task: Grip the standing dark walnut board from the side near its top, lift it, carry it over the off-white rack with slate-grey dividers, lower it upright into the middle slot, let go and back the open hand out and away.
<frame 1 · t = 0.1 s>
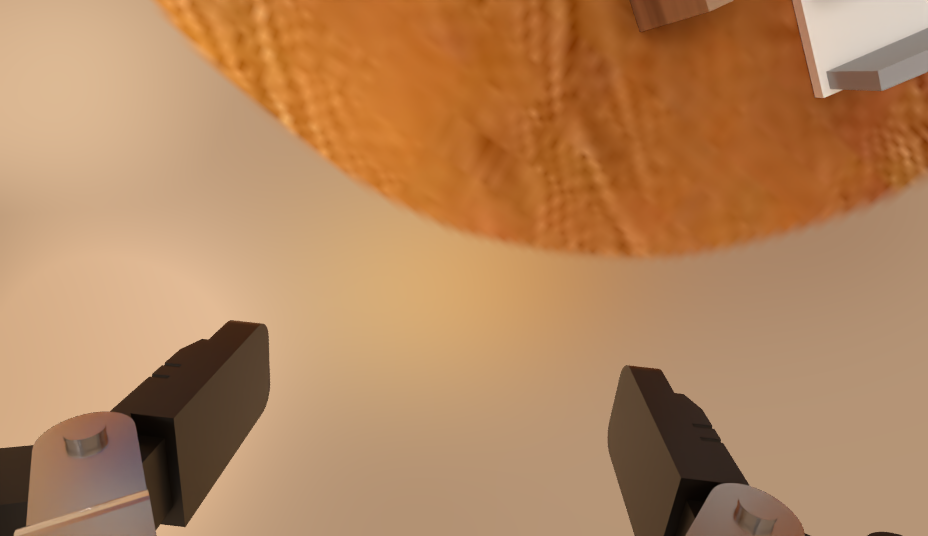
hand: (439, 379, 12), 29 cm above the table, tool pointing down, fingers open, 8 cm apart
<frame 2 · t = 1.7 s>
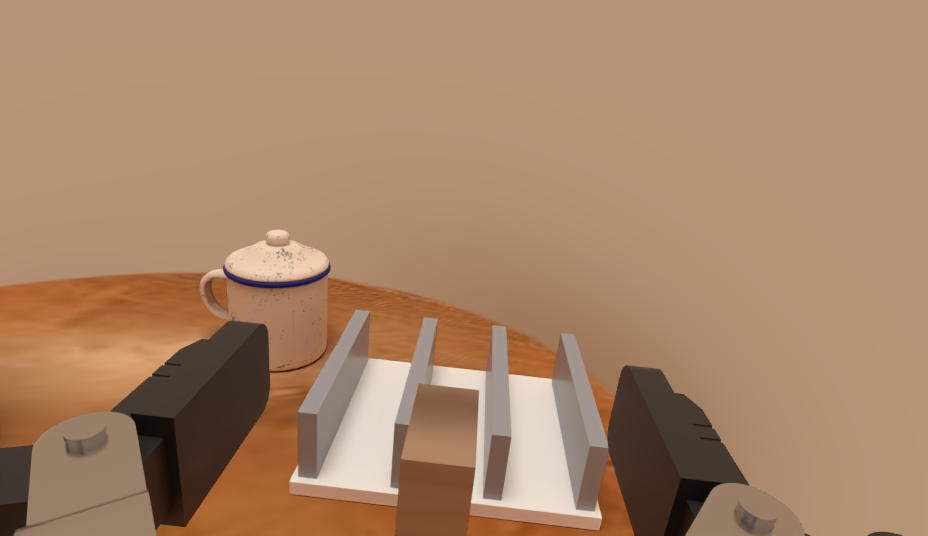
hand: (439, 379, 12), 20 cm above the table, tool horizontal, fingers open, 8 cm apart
teacup with lid: (265, 348, 51), on the table
rack: (452, 433, 42), on the table
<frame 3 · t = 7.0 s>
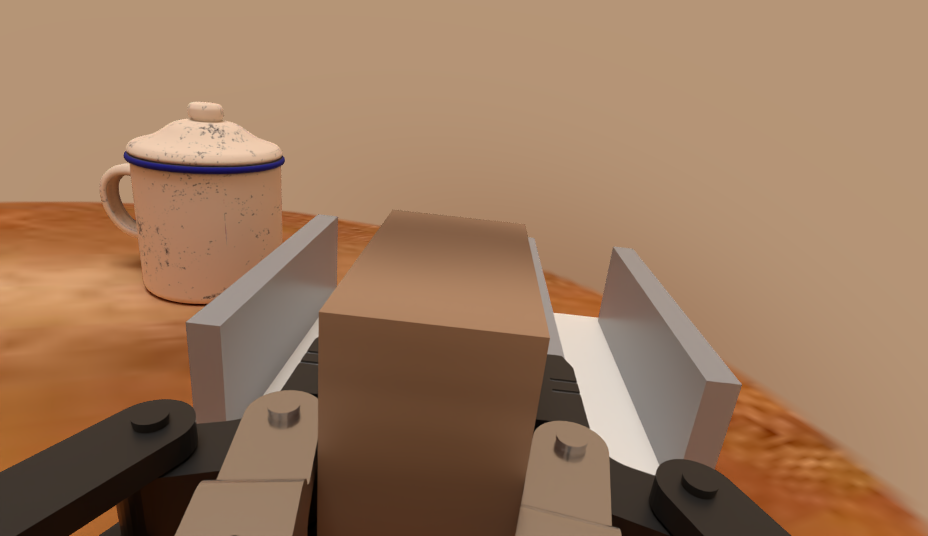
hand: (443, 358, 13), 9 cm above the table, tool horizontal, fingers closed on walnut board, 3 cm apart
teacup with lid: (196, 279, 37), on the table
rack: (458, 383, 27), on the table
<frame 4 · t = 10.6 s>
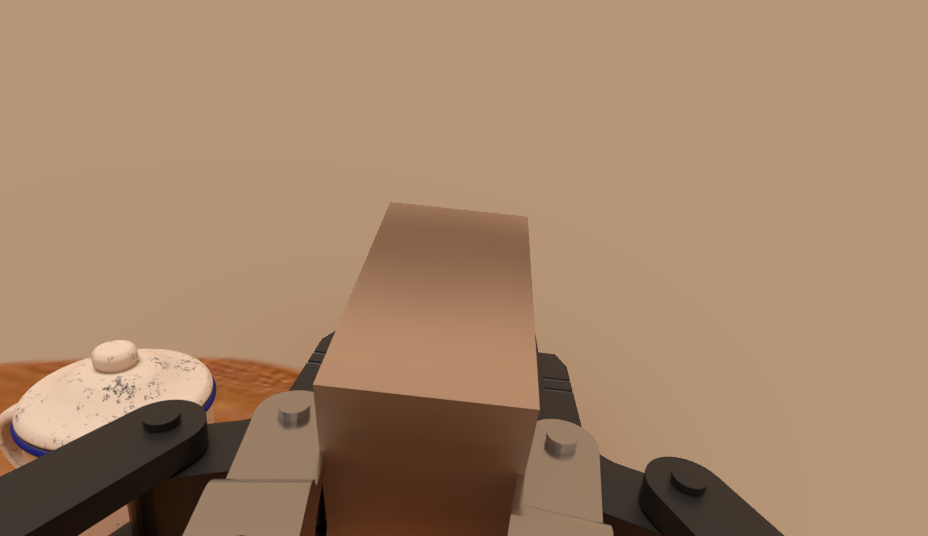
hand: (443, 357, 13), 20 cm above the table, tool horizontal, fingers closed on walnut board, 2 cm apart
teacup with lid: (116, 522, 31), on the table
when the fingers open (11 cm above the table, at t = 14.1 s): walnut board drops 1 cm, resting on rack.
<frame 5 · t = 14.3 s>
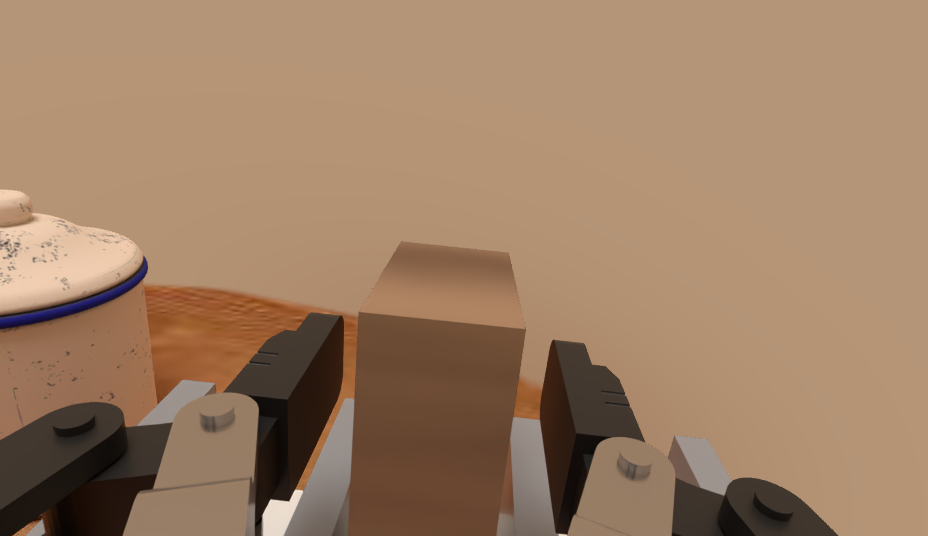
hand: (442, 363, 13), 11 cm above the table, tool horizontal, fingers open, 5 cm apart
teacup with lid: (19, 451, 24), on the table
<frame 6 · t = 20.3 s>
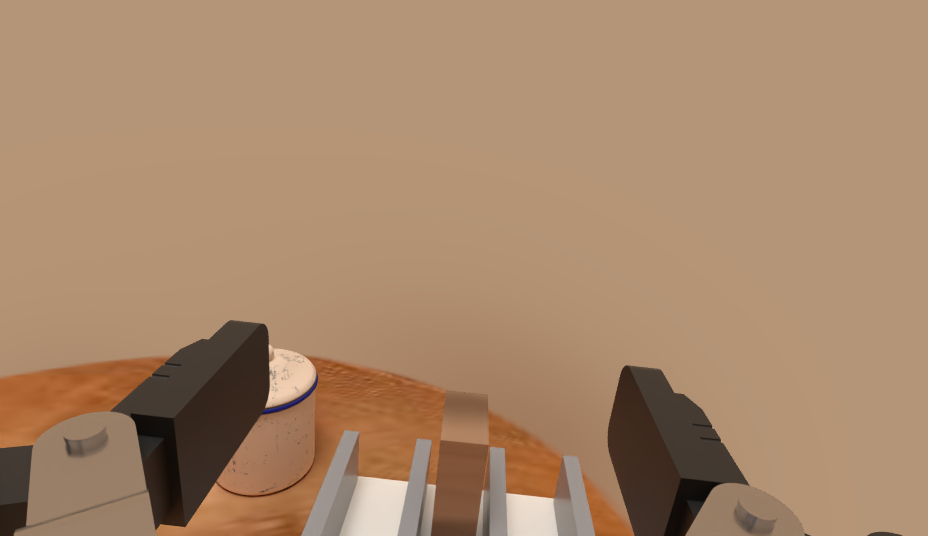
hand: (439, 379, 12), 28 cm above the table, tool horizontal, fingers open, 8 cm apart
teacup with lid: (249, 461, 48), on the table
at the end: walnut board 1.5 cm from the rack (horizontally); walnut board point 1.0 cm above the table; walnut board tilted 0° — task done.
